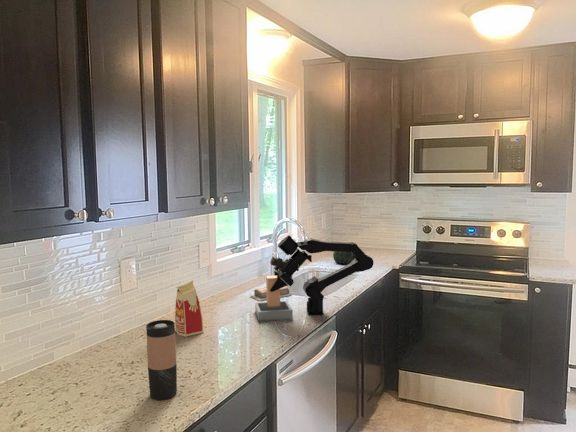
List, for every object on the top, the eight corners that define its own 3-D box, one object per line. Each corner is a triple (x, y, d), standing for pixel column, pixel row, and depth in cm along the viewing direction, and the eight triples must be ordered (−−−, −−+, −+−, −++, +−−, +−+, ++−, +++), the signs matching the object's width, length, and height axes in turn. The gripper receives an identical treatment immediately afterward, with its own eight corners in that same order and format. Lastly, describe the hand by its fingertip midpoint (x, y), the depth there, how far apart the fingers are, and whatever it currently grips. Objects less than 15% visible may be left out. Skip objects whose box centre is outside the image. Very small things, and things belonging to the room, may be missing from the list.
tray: (286, 309, 208) (286, 300, 208) (292, 319, 194) (292, 310, 194) (255, 311, 206) (255, 302, 205) (258, 321, 192) (258, 312, 191)
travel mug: (180, 388, 134) (178, 319, 132) (173, 401, 126) (170, 328, 124) (154, 388, 134) (151, 319, 132) (145, 401, 127) (141, 328, 125)
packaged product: (281, 283, 239) (291, 286, 231) (281, 292, 240) (291, 296, 231) (249, 288, 230) (259, 292, 222) (249, 297, 231) (259, 302, 222)
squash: (332, 252, 318) (334, 238, 306) (354, 253, 317) (357, 239, 306) (333, 270, 308) (335, 255, 297) (355, 270, 308) (358, 256, 297)
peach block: (278, 302, 202) (277, 275, 201) (280, 305, 197) (279, 277, 196) (266, 303, 201) (266, 275, 200) (268, 306, 197) (267, 278, 195)
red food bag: (194, 326, 188) (192, 277, 186) (204, 332, 180) (203, 281, 178) (172, 331, 182) (170, 280, 180) (182, 337, 175) (180, 285, 173)
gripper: (278, 246, 207) (253, 272, 206) (284, 253, 189) (258, 282, 188) (296, 263, 209) (272, 289, 208) (304, 271, 191) (278, 300, 190)
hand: (269, 289), depth 199 cm, fingers closed on peach block, 5 cm apart
